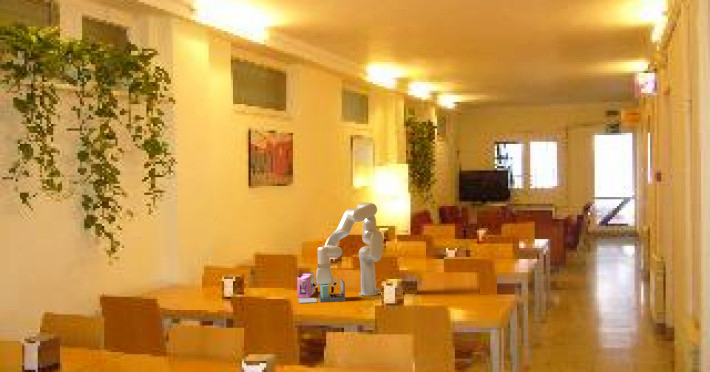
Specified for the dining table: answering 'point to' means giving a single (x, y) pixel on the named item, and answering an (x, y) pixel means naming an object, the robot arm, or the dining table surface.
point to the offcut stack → (337, 295)
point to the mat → (307, 300)
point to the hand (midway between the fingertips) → (324, 293)
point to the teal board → (324, 291)
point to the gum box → (305, 285)
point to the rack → (332, 295)
